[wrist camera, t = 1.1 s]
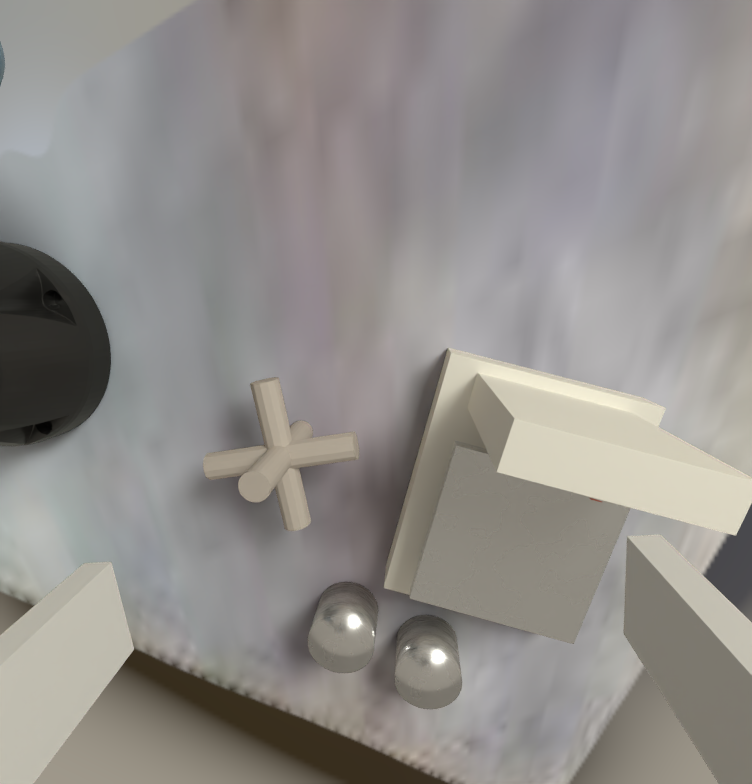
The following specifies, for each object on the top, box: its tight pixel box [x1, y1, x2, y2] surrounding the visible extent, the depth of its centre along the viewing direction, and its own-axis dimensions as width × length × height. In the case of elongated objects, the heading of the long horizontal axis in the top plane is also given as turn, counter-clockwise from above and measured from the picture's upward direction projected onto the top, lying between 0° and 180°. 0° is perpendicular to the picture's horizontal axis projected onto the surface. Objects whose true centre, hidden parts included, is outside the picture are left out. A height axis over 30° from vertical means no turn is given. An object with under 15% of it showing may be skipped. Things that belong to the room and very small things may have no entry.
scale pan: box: [410, 441, 630, 644], centre depth 28 cm, size 11×11×1 cm
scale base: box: [384, 348, 752, 595], centre depth 26 cm, size 14×18×14 cm
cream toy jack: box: [203, 377, 359, 531], centre depth 29 cm, size 10×10×10 cm
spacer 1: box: [308, 582, 378, 673], centre depth 35 cm, size 5×5×4 cm
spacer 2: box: [395, 615, 462, 709], centre depth 35 cm, size 5×5×4 cm
